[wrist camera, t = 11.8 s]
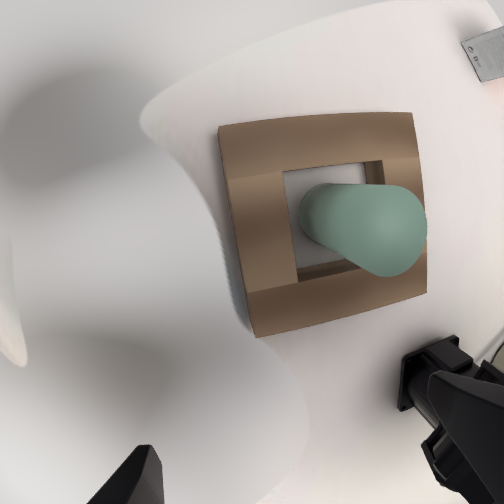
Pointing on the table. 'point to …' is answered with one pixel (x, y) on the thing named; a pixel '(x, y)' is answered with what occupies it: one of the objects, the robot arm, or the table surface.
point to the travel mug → (499, 359)
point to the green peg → (367, 224)
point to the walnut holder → (277, 217)
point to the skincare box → (487, 54)
